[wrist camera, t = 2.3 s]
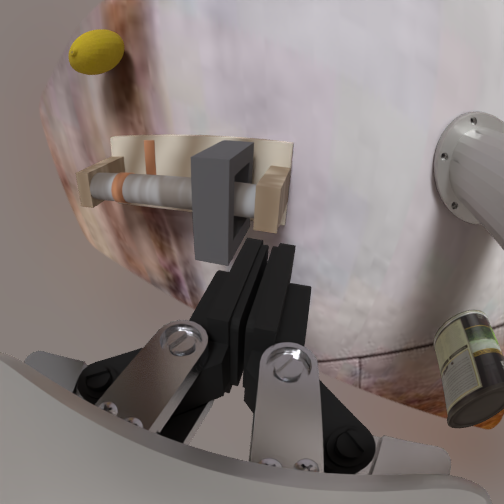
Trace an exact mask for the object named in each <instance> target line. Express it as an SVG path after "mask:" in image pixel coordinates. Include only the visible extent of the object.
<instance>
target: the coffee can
mask: <svg viewBox="0 0 504 504" xmlns="http://www.w3.org/2000/svg"><path fill="white" fill-rule="evenodd" d="M434 349H435V352H436V356H437V360H438V365H439V369H440V374H441V379H442V384H443V389H444V395H445V401H446V408H447V414H448V418H447V423H448V425H449V426H450V427H452V428H464V427H469V426H473V425H476V424H479V423H481V422H483V421H486V420H487V419H489V418H491V417H493V416H494V415H496V414H497V413H499V412H500V411H501V410H503V409H504V357H503V354H502V352H501V349H500V347H499V344H498V342H497V339H496V337H495V335H494V332H493V330H492V328H491V325H490V323H489V321H488V318H487V316H486V315H485V314H484V313H483V312H481V311H478V310H470V311H465V312H462V313H460V314H458V315H455V316H454V317H452V318H451V319H449V320H448V321H447V322H446V323H445V324H444V325H443V326H442V327H441V328H440V329H439V330H438V332H437V334H436V335H435V338H434Z"/></svg>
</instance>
